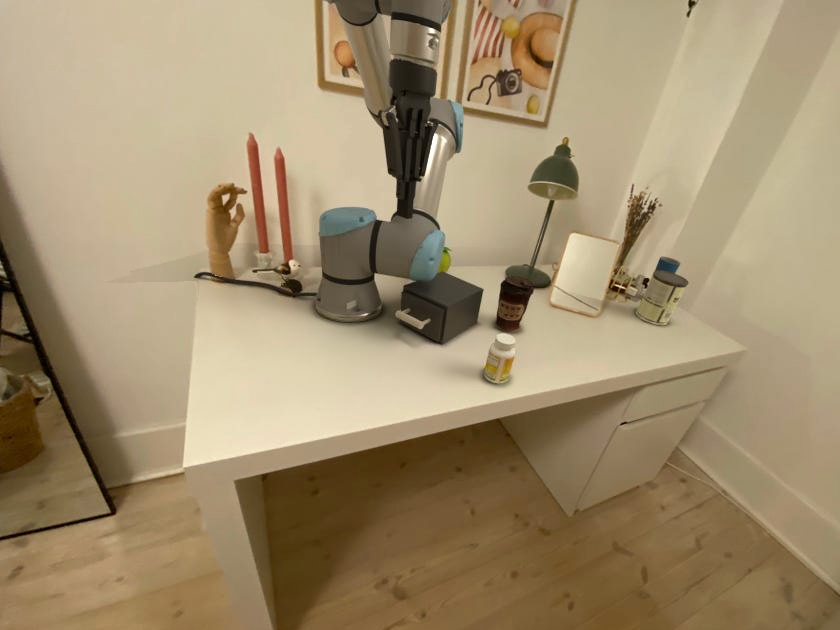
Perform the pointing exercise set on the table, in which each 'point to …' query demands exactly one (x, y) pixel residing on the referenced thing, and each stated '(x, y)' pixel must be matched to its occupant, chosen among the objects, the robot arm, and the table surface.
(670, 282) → the coffee can
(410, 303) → the drawer
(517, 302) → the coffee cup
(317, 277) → the table surface
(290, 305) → the table surface
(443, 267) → the fruit
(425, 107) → the robot arm
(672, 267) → the cup
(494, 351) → the supplement bottle
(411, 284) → the cabinet
